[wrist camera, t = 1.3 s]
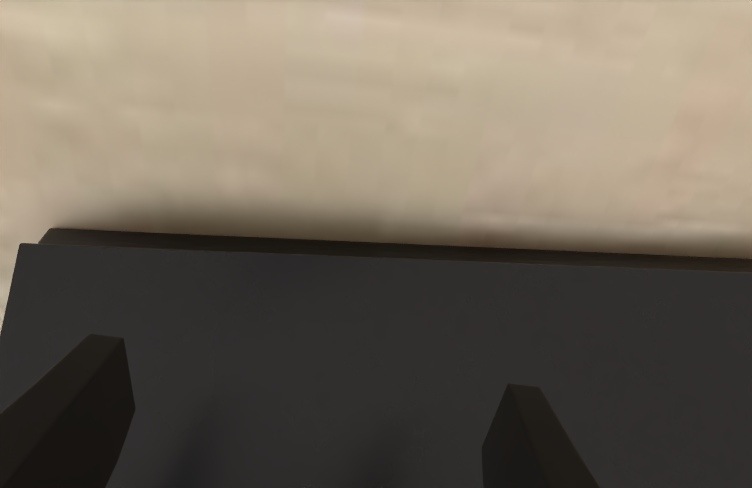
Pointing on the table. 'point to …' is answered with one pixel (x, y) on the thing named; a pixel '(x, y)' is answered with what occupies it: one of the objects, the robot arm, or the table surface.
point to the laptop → (387, 250)
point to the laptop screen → (392, 364)
